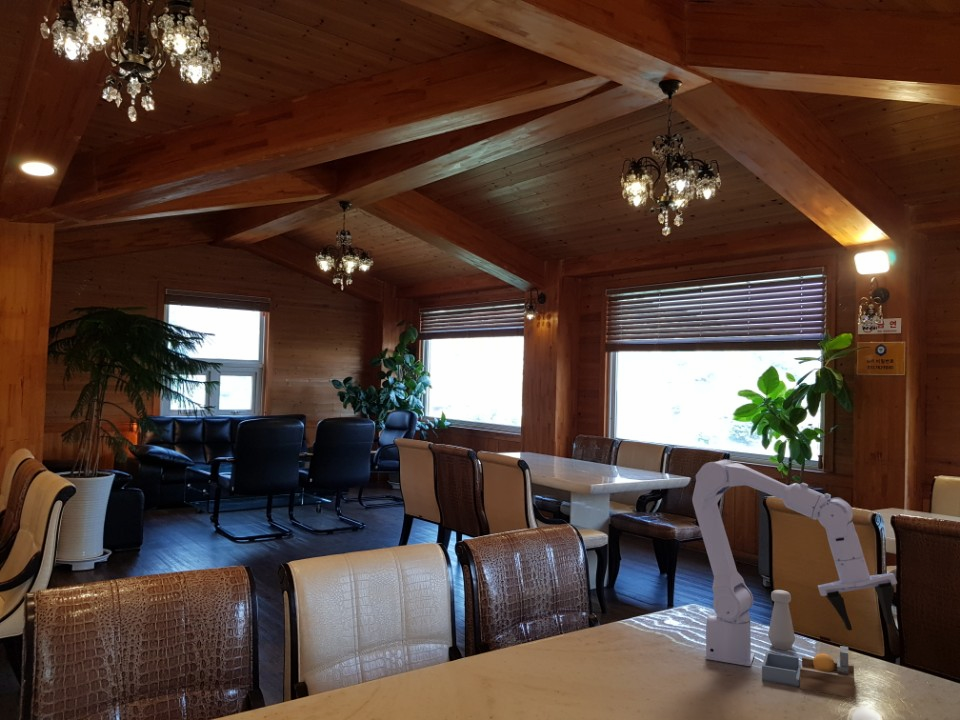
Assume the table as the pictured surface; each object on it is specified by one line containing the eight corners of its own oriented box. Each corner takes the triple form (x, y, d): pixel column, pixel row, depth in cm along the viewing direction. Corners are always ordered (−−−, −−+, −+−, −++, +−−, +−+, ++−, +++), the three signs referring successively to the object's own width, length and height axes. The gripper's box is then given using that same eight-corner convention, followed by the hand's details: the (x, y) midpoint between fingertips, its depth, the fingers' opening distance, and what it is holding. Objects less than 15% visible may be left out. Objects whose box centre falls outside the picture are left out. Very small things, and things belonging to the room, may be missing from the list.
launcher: (799, 688, 145) (799, 670, 145) (802, 671, 154) (802, 654, 154) (854, 698, 141) (854, 679, 141) (854, 680, 149) (853, 663, 150)
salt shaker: (797, 652, 165) (796, 595, 166) (771, 650, 166) (770, 593, 167) (791, 643, 171) (791, 588, 172) (766, 641, 172) (765, 587, 173)
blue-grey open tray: (762, 680, 149) (761, 665, 149) (766, 666, 157) (766, 652, 157) (798, 687, 146) (798, 672, 146) (801, 672, 154) (801, 657, 154)
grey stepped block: (837, 678, 144) (837, 652, 144) (837, 670, 149) (837, 644, 149) (848, 680, 143) (848, 654, 143) (848, 671, 148) (848, 646, 148)
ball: (812, 675, 147) (812, 655, 147) (813, 668, 150) (813, 649, 150) (834, 678, 145) (834, 658, 145) (834, 672, 148) (834, 652, 149)
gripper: (816, 566, 146) (836, 636, 143) (892, 553, 143) (914, 624, 140) (809, 562, 152) (828, 628, 150) (881, 550, 149) (902, 617, 147)
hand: (869, 626), depth 145 cm, fingers open, 7 cm apart
